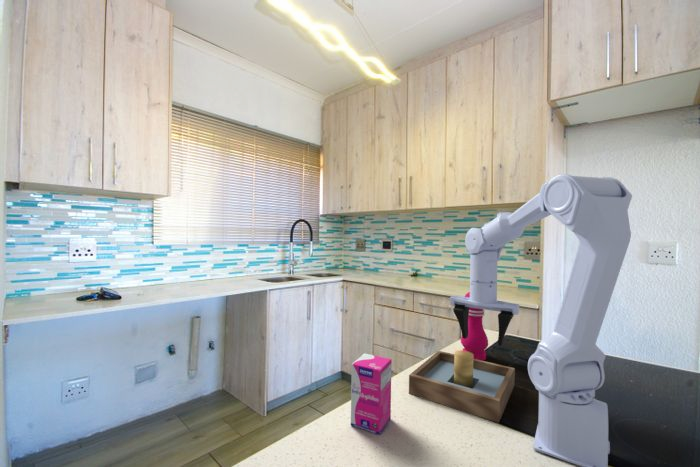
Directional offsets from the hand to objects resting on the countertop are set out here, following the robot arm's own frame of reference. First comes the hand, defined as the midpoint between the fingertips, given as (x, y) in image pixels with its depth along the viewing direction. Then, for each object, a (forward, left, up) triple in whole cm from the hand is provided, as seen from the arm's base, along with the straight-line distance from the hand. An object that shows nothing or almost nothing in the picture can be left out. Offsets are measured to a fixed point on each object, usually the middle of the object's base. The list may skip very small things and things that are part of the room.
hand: (482, 340), depth 74 cm
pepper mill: (+6, -17, -11) cm, 21 cm away
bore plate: (+3, +4, -10) cm, 12 cm away
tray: (+3, +4, -10) cm, 12 cm away
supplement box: (+13, +27, -11) cm, 32 cm away
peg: (+3, +4, -10) cm, 12 cm away
